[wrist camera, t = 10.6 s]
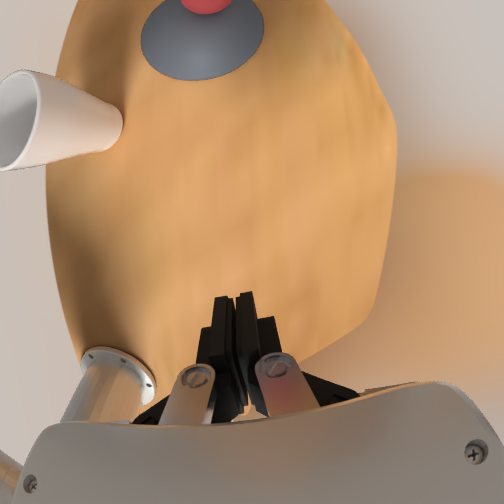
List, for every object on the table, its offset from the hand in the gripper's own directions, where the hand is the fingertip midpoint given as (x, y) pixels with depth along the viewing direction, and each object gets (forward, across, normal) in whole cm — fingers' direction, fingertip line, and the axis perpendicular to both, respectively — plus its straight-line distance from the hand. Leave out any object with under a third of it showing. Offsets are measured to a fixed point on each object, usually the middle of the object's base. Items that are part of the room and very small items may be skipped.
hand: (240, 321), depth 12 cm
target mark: (+17, 0, -22) cm, 28 cm away
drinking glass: (+17, +12, -14) cm, 25 cm away
